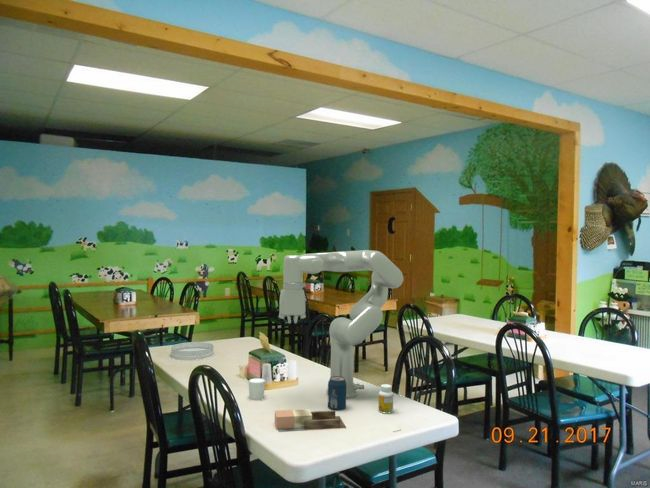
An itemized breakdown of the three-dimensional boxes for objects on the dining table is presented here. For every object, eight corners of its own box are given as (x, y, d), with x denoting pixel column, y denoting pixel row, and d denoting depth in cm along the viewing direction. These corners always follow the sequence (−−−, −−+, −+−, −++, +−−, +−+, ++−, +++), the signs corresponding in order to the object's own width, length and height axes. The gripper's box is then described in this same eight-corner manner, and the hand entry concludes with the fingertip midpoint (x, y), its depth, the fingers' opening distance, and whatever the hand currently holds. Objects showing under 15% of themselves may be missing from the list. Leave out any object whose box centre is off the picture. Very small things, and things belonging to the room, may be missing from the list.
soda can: (343, 406, 191) (344, 375, 191) (347, 412, 184) (348, 380, 184) (326, 407, 190) (326, 376, 189) (329, 413, 183) (330, 381, 183)
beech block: (308, 420, 173) (309, 409, 173) (311, 427, 167) (312, 415, 167) (291, 421, 172) (292, 410, 172) (294, 428, 166) (294, 416, 166)
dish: (200, 348, 280) (201, 340, 280) (221, 356, 264) (221, 347, 264) (163, 354, 265) (163, 345, 265) (183, 363, 249) (183, 353, 249)
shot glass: (262, 401, 195) (262, 383, 195) (245, 399, 196) (245, 382, 196) (267, 395, 202) (267, 378, 201) (251, 394, 203) (251, 377, 203)
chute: (339, 418, 178) (339, 409, 178) (346, 430, 167) (346, 420, 167) (275, 422, 173) (275, 412, 173) (278, 434, 163) (278, 424, 163)
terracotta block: (291, 421, 172) (292, 409, 172) (294, 428, 166) (294, 416, 166) (274, 422, 171) (274, 410, 171) (276, 429, 165) (276, 417, 165)
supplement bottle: (377, 408, 189) (377, 383, 189) (391, 408, 189) (391, 383, 189) (379, 414, 184) (380, 388, 183) (394, 413, 184) (394, 387, 184)
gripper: (310, 285, 200) (309, 330, 200) (272, 285, 197) (272, 331, 197) (313, 287, 192) (312, 334, 193) (274, 287, 189) (273, 335, 190)
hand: (291, 332), depth 195 cm, fingers closed
